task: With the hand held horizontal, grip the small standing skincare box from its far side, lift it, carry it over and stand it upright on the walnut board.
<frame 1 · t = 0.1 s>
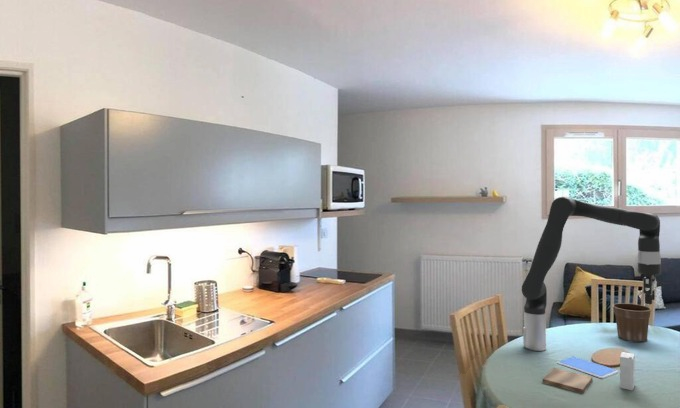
hand: (649, 301, 165), 29 cm above the table, tool pointing down, fingers open, 8 cm apart
skincare box: (627, 387, 155), on the table
plant pot: (632, 338, 206), on the table
tablet computer: (586, 369, 173), on the table
walnut board: (567, 381, 160), on the table
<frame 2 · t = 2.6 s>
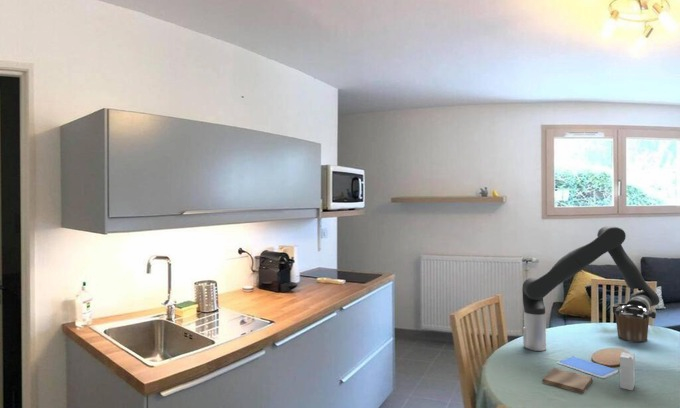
hand: (631, 314, 162), 25 cm above the table, tool horizontal, fingers open, 8 cm apart
nothing on the table moved.
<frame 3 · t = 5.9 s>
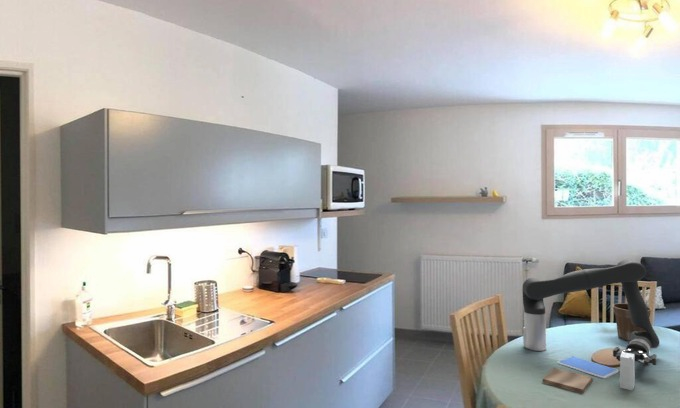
hand: (631, 361, 161), 7 cm above the table, tool horizontal, fingers open, 8 cm apart
nothing on the table moved.
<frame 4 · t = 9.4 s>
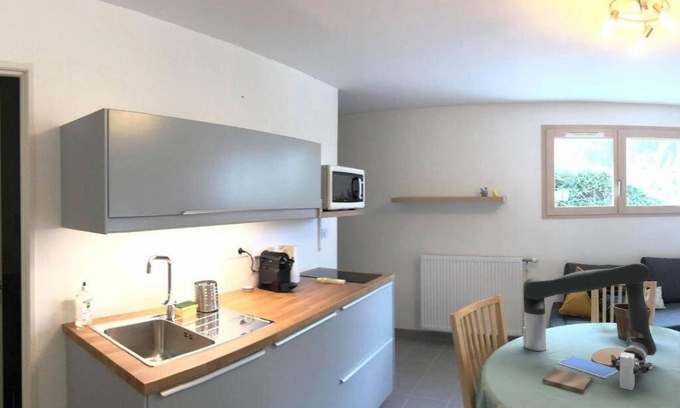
hand: (626, 370, 153), 7 cm above the table, tool horizontal, fingers closed on skincare box, 4 cm apart
skincare box: (627, 387, 155), on the table, touching gripper
everything else where it was.
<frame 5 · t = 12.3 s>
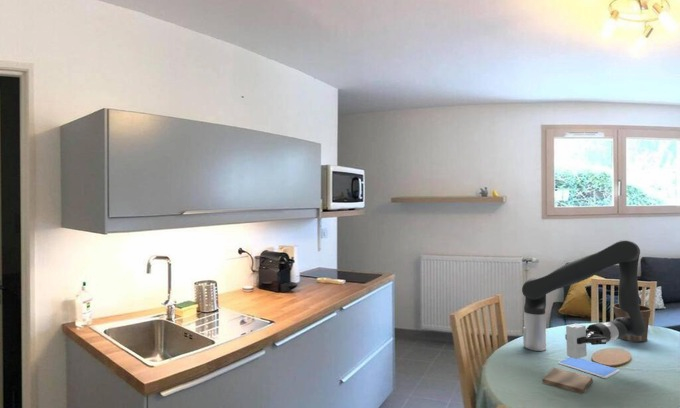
hand: (572, 339, 157), 18 cm above the table, tool horizontal, fingers closed on skincare box, 4 cm apart
skincare box: (576, 356, 158), point 10 cm above the table, touching gripper
everything else where it was.
when the fingers open (10 cm above the table, at t = 15.4 s): skincare box drops 1 cm, resting on walnut board.
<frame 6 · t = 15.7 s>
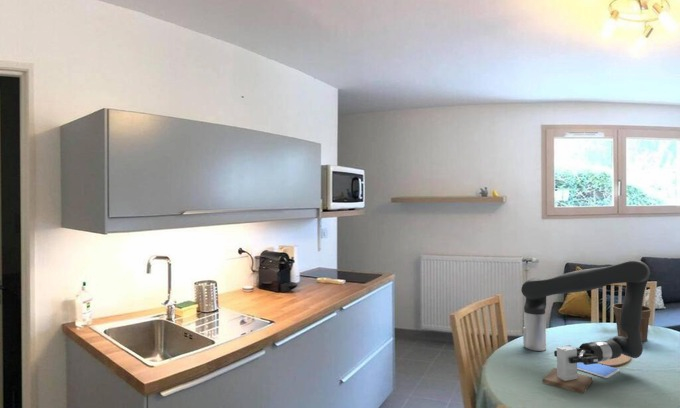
hand: (562, 357, 159), 10 cm above the table, tool horizontal, fingers open, 6 cm apart
skincare box: (567, 378, 160), point 1 cm above the table, touching walnut board
everything else where it was.
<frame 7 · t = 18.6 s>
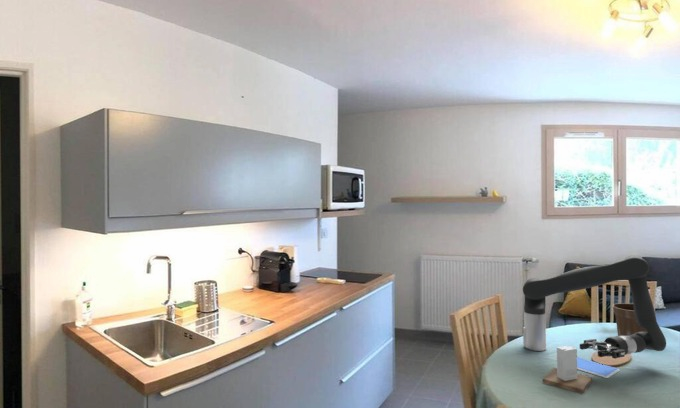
hand: (589, 350, 163), 11 cm above the table, tool horizontal, fingers open, 8 cm apart
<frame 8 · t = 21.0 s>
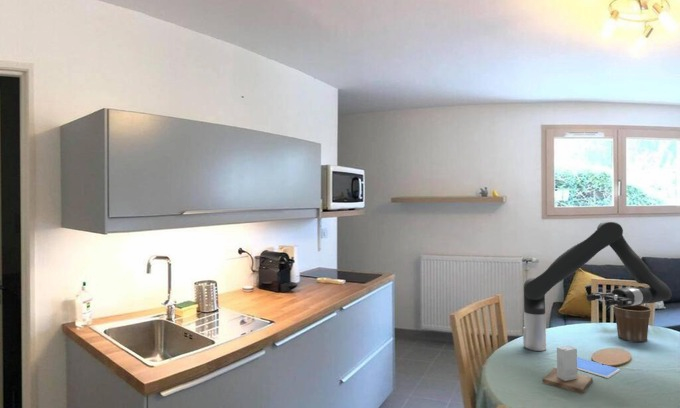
hand: (596, 300, 167), 30 cm above the table, tool horizontal, fingers open, 8 cm apart
at the end: skincare box inside the target area on the walnut board (0.5 cm from its centre), point 1.3 cm above the walnut board's base; skincare box tilted 0°; the gripper is holding nothing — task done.
